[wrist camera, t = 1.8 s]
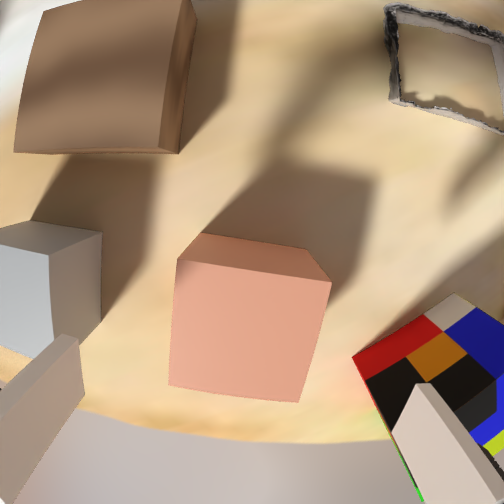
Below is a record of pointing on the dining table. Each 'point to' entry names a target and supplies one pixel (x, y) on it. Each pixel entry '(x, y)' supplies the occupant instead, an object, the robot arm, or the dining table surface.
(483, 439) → the puzzle toy
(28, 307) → the slate grey cube
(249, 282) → the terracotta cube
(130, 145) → the walnut base block
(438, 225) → the dining table surface
